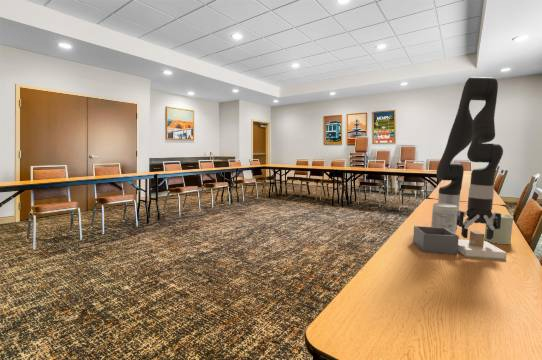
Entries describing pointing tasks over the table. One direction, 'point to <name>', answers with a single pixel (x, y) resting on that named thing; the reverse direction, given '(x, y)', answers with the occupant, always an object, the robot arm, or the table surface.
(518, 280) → the table surface
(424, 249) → the box
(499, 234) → the can
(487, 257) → the mat
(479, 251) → the lid
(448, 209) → the supplement tub
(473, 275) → the table surface
